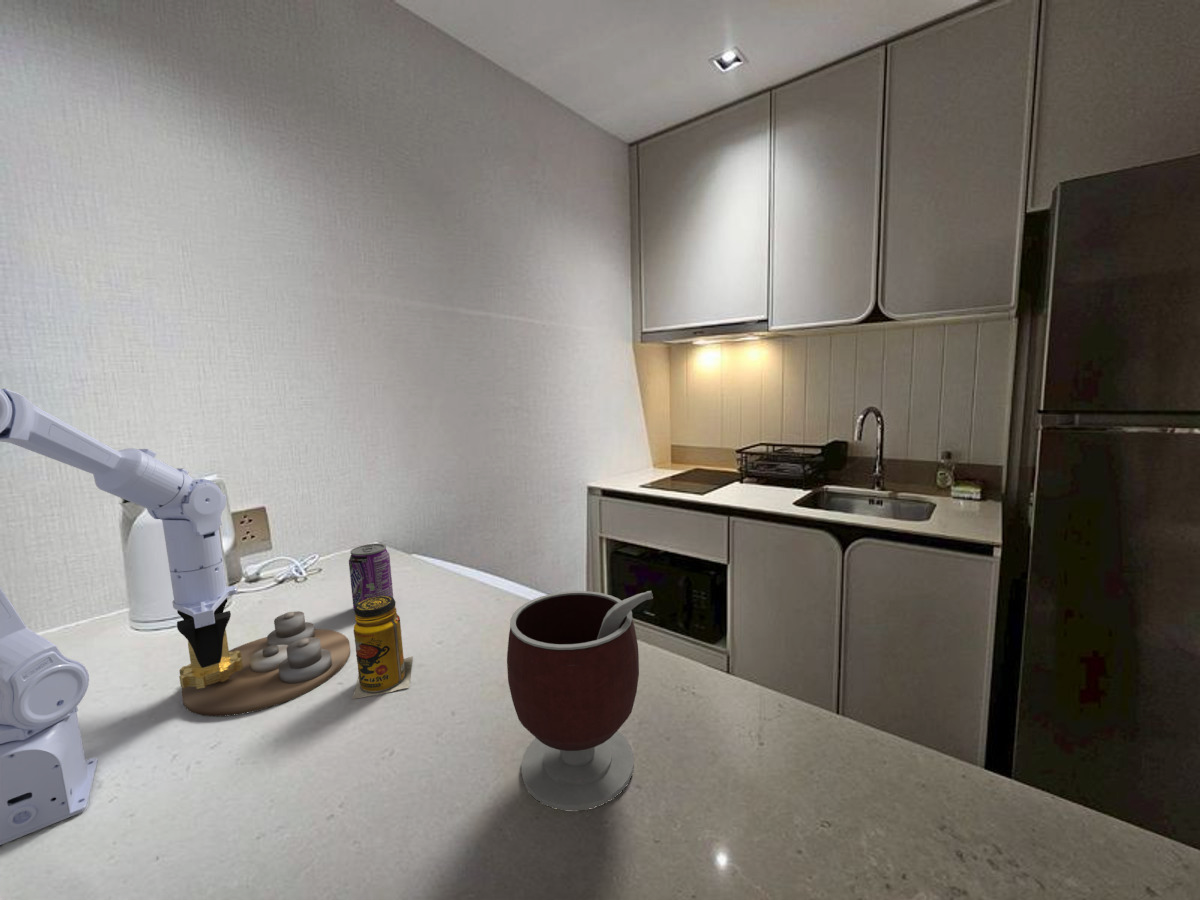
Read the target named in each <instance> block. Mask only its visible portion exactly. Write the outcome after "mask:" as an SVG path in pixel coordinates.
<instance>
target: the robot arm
mask: <svg viewBox="0 0 1200 900" xmlns="http://www.w3.org/2000/svg"><path fill="white" fill-rule="evenodd" d="M0 443H9V444H12V445H15V446H18V447H20V448H23V449H25V450H28V451H31V452H34V453H36V454H39V455H42V456H45V457H47V458H50V459H52V460H55V461H57V462H60V463H62V464H66V465H68V466H70V467H74V468H76V469H79V470H81V471H84V472H87V473H89V474H92V475H93V479H94V483H95V485H96V487H97V488H98V489H99V490H100V491H103V492H106V493H107V494H111V495H113V496H116V497H118V498H121V499H123V500H125V501H128V502H129V503H132V504H135V505H138V506H139V507H143V508H145V509H146V510H147V512H148V514H149V515H150V516H151V517H152V518H153V519H154V520H160V521H161V522H162V527H163V534H164V541H165V547H166V548H165V549H166V555H167V563H168V568H169V575H170V581H171V587H172V588H171V589H172V595H173V600H172V608H173V609H175V610H177V612H176V613H177V614H178V616H180V618H182V620H179V621H177V622H176V629H177V631H178V632H179V634H181V635H182V636H184V638H185V639H186V640H187V642H188V641H189V643H190V644H191V646H192V648H193V650H194V653H195V655H196V658H197V660H198V662H199V664H200V666H201V667H202V668H204V667H207V666H210V665H214V664H217V663H220V661H221V657H222V648H223V637H224V632H225V630H227V629H226V628H227V626H228V623H229V622H230V620H231V617H232V614H231V611H230V610H227V611H224V610H225V608H226V606H227V603H228V597H230V596H232V595H237V594H238V587H237V585H230V586H227V580H226V573H225V567H224V566H225V565H224V558H223V550H222V543H221V535H220V528H221V526H222V518H221V517H222V514H223V511H224V510H225V508H226V505H227V494H223V491H222V489H221V488H220V487H219V486H218V484H216V483H215V482H214V481H212V480H209V479H205V478H195V479H194V478H193V477H192V476H190V475H189V471H188V470H187V469H184V468H179V467H177V468H175V467H174V466H171V465H169V464H167V463H166V462H164V461H162V460H160V459H158V458H157V457H156V456H157V452H155V451H153V450H151V449H149V448H139V449H138V448H134V447H131V448H130V447H127V448H123V449H120V450H117V449H114V448H113V447H111V446H109V445H107V444H105V443H104V442H102V441H100V440H98V439H96V438H95V437H93V436H91V435H89V434H87V433H86V432H83V431H81V430H80V429H78V428H76V427H75V426H73V425H71V424H69V423H67V422H65V421H63V420H62V419H60V418H58V417H56V416H54V415H53V414H51V413H50V412H47V411H46V410H43V409H42V408H40V407H38V406H37V405H35V404H34V403H33V402H31V401H30V400H29V399H28V398H26V397H25V396H24V395H23V394H21V393H20V392H19V393H18V392H16V391H14V390H10V389H7V388H2V387H0ZM155 457H156V458H155ZM89 683H90V675H89V672H88V670H87V668H86V666H85V665H84V664H83V663H81V662H80V661H77V660H75V659H71V658H69V657H67V656H65V655H64V654H63V653H62V652H61V651H60V649H59V648H58V646H57V645H56V644H55V643H53V642H51V641H50V640H48V639H47V638H45V637H43V636H41V635H40V634H38V633H36V632H35V631H33V630H31V629H30V628H29V627H28V626H27V624H25V622H24V621H23V619H22V617H21V616H20V614H19V613H18V612H17V610H16V609H15V607H14V606H13V604H12V602H11V601H10V599H9V598H8V596H7V594H6V593H5V591H4V590H3V589H2V588H1V586H0V846H1V845H4V844H6V843H9V842H11V841H14V840H17V839H18V838H21V837H24V836H26V835H28V834H31V833H32V834H33V833H35V832H36V831H39V830H41V829H44V828H46V827H49V826H51V825H53V824H56V823H58V822H61V821H64V820H66V819H68V818H70V817H73V816H76V815H78V814H81V813H83V812H84V811H86V809H87V808H88V806H89V802H90V801H89V800H90V796H91V793H92V787H93V783H94V779H95V776H96V775H95V774H96V770H97V765H98V761H99V760H98V757H91V758H88V759H86V757H85V750H84V746H83V740H82V735H81V733H82V732H81V728H80V722H79V718H78V706H79V704H80V703H81V702H82V700H83V698H84V697H85V695H86V693H87V691H88V688H89Z"/></svg>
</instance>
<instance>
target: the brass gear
mask: <svg viewBox="0 0 1200 900" xmlns="http://www.w3.org/2000/svg"><path fill="white" fill-rule="evenodd" d="M187 647H188V653H189V660H190V663H189V664H188V665H185V666H182V667H181V668H180V669H179V677H178V678H179V682H180V683H179V684H180V687H181V688H182V687H183V688H186V687H188V686H192V687H197V689H200V688H205V687H206V685H210V684H213V683H216V682H219V681H221V682H223V681H225V680H227V679H229V676H230V675H232V674H233V673H235V672H236V671H240V670H241V669H242V668H243V663H242V657H241V652H240V651H238V650H237V651H235V652H229V651H230V649H229V643H228V637H227V629H225V632H224V637H223V648H222V657H221V661H220V663H217V664H214V665H210V666H207V667H204V668H202V667H201V666H200V664H199V662H198V660H197V658H196V655H195V653H194V650H193V648H192V646H191V644H190V643H189V641H188V640H187Z"/></svg>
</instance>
